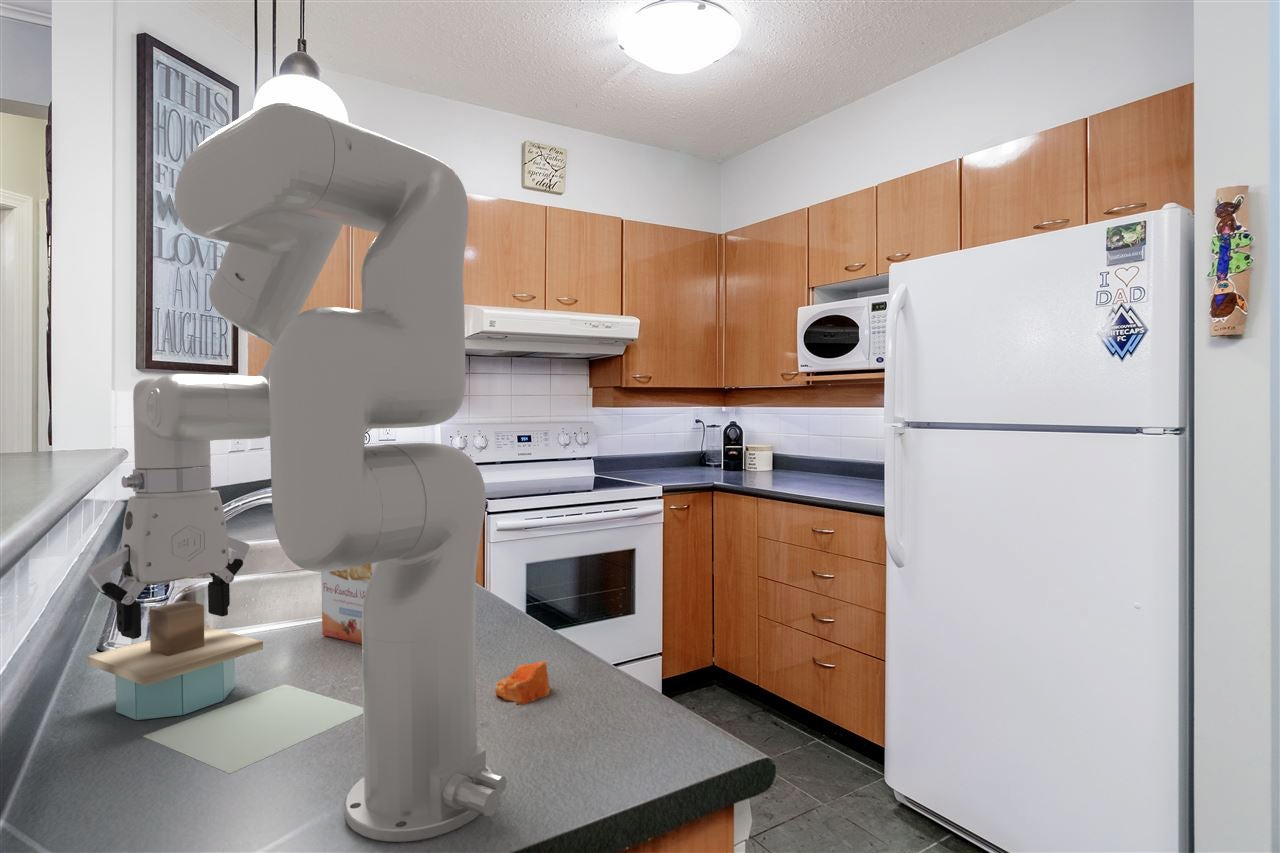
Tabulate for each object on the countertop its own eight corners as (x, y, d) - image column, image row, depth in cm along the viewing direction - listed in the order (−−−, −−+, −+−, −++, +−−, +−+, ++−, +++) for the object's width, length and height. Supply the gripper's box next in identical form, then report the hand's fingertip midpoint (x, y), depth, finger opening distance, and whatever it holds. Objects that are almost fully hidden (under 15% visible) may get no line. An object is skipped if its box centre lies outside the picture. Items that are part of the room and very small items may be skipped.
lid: (263, 649, 85) (262, 600, 85) (145, 685, 74) (143, 629, 74) (204, 633, 91) (203, 588, 91) (87, 664, 80) (86, 613, 80)
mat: (370, 713, 79) (370, 710, 79) (230, 777, 65) (230, 773, 65) (284, 687, 87) (284, 684, 87) (142, 739, 73) (142, 735, 73)
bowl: (250, 694, 85) (249, 650, 85) (151, 730, 75) (150, 680, 75) (200, 678, 90) (200, 636, 90) (102, 710, 81) (101, 663, 81)
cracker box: (319, 637, 107) (317, 502, 106) (352, 626, 112) (350, 498, 112) (383, 651, 100) (381, 507, 100) (414, 639, 106) (413, 502, 105)
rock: (450, 710, 82) (449, 674, 82) (513, 674, 93) (512, 643, 93) (534, 729, 76) (533, 691, 76) (590, 689, 87) (589, 655, 87)
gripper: (104, 491, 73) (108, 652, 73) (263, 477, 88) (265, 611, 88) (71, 487, 77) (74, 641, 77) (229, 475, 92) (231, 603, 92)
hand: (176, 625), depth 83 cm, fingers open, 9 cm apart
